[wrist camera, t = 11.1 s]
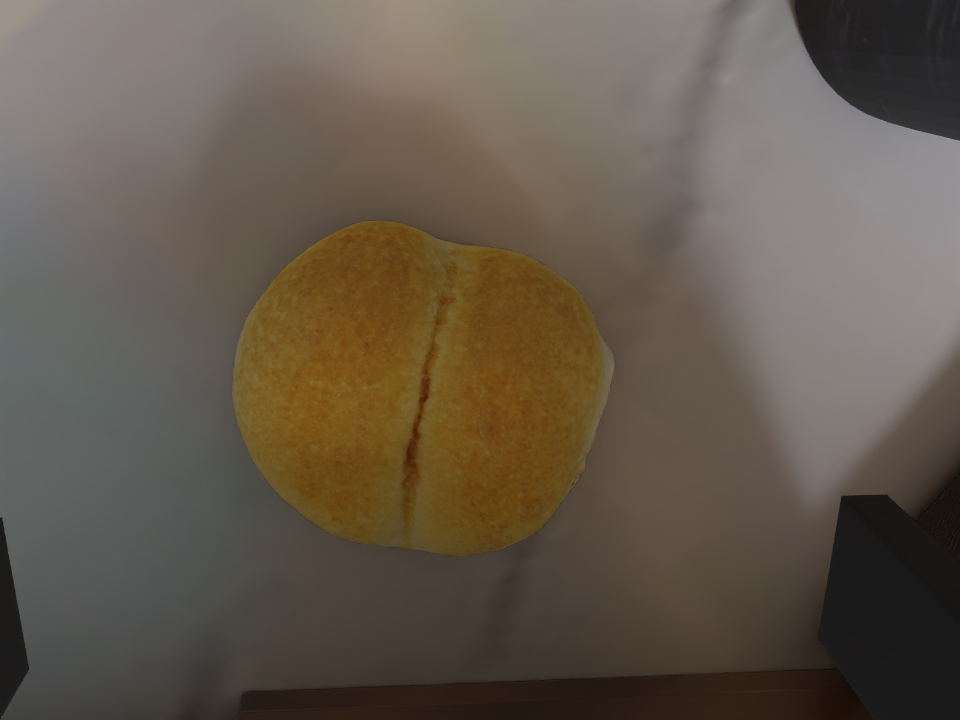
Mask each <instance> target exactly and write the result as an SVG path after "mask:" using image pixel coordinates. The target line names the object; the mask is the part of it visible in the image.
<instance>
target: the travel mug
mask: <svg viewBox="0 0 960 720" xmlns="http://www.w3.org/2000/svg"><path fill="white" fill-rule="evenodd" d="M795 3H796V12H797V17H798V23H799V28H800V31H801V34H802V37H803V40H804V44H805V47H806V49H807V51H808V53H809V55H810V57H811V59H812V61H813V63H814V65H815V66H816V68H817V69H818V71H819V72H820V74H821V75H822V77H823V78H824V79H825V81H826V82H827V83H828V84H829V85H830V86H831V87H832V88H833V89H834V90H835V92H836V93H837V94H838V95H840V96H841V97H842V98H843V99H845V100H846V101H847V102H848V103H850V104H851V105H852V106H854V107H856V108H857V109H859V110H861V111H863V112H864V113H866V114H868V115H871V116H873V117H876V118H879V119H881V120H884V121H886V122H889V123H892V124H896V125H900V126H903V127H907V128H911V129H914V130H918V131H923V132H927V133H931V134H935V135H939V136H943V137H947V138H951V139H955V140H960V0H795Z"/></svg>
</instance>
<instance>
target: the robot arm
mask: <svg viewBox="0 0 960 720" xmlns="http://www.w3.org/2000/svg"><path fill="white" fill-rule="evenodd" d="M818 639H819V641H820V642H821V644H822V645H823V647H824V648H825V649H826V651H827V652H828V654H829V655H830V657H831V658H832V660H833V661H834V662H835V664H836V665H837V667H838V668H839V670H840V671H841V673H842V674H843V676H844V677H845V678H846V680H847V681H848V683H849V684H850V686H851V687H852V689H853V690H854V692H855V693H856V694H857V696H858V697H859V699H860V700H861V702H862V703H863V705H864V706H865V707H866V709H867V710H868V712H869V713H870V715H871V716H872V718H873V719H874V720H960V564H959V563H958V562H957V561H956V560H955V559H954V558H953V557H952V556H951V555H950V554H949V553H948V552H947V551H945V550H944V549H943V548H942V547H941V546H940V545H939V544H938V543H937V542H936V541H935V540H934V539H933V538H932V537H931V536H930V535H929V534H928V533H927V532H925V531H924V530H923V529H922V528H921V527H920V526H919V525H918V524H917V523H916V522H915V521H914V520H913V519H912V518H911V517H910V516H909V515H908V514H907V513H906V512H904V511H903V510H902V509H901V508H900V507H899V506H898V505H897V504H896V503H895V502H894V501H893V500H892V499H891V498H890V497H889V496H888V495H855V496H841V502H840V508H839V514H838V520H837V526H836V532H835V538H834V545H833V551H832V557H831V563H830V569H829V575H828V581H827V587H826V593H825V599H824V605H823V611H822V617H821V623H820V629H819V635H818ZM28 670H29V666H28V660H27V654H26V649H25V643H24V638H23V632H22V627H21V621H20V615H19V610H18V604H17V599H16V593H15V588H14V582H13V576H12V571H11V565H10V560H9V554H8V548H7V543H6V537H5V532H4V526H3V521H2V517H1V518H0V718H1V717H2V715H3V713H4V712H5V710H6V708H7V706H8V705H9V703H10V701H11V700H12V698H13V696H14V694H15V693H16V691H17V689H18V687H19V686H20V684H21V682H22V681H23V679H24V677H25V675H26V674H27V672H28Z"/></svg>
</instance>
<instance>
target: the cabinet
mask: <svg viewBox="0 0 960 720" xmlns="http://www.w3.org/2000/svg"><path fill="white" fill-rule="evenodd" d="M236 720H874V719H873V718H872V716H871V715H870V713H869V712H868V710H867V709H866V707H865V706H864V705H863V703H862V702H861V700H860V699H859V697H858V696H857V694H856V693H855V692H854V690H853V689H852V687H851V686H850V684H849V683H848V681H847V680H846V678H845V677H844V676H843V674H842V673H841V671H840V670H839V669H834V670H808V671H783V672H757V673H731V674H706V675H680V676H654V677H629V678H603V679H578V680H552V681H526V682H501V683H475V684H450V685H424V686H398V687H373V688H347V689H321V690H296V691H270V692H245V693H243V695H242V698H241V702H240V706H239V710H238V714H237V717H236Z"/></svg>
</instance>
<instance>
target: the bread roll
mask: <svg viewBox="0 0 960 720" xmlns="http://www.w3.org/2000/svg"><path fill="white" fill-rule="evenodd" d="M614 368H615V360H614V357H613V353H612V351H611V350H610V348H609V347H608V346H607V344H606V343H605V341H604V340H603V338H602V337H601V334H600V331H599V328H598V325H597V323H596V320H595V318H594V316H593V314H592V312H591V310H590V308H589V306H588V304H587V302H586V301H585V299H584V298H583V296H582V295H581V294H580V292H579V291H578V290H577V289H576V288H575V287H574V286H573V285H572V284H570V283H569V282H568V281H567V280H565V279H564V278H563V277H561V276H560V275H558V274H557V273H555V272H554V271H552V270H551V269H549V268H548V267H546V266H544V265H543V264H541V263H539V262H538V261H536V260H534V259H532V258H530V257H528V256H526V255H523V254H520V253H517V252H514V251H511V250H506V249H499V248H492V247H483V246H465V245H460V244H456V243H452V242H448V241H443V240H439V239H437V238H435V237H433V236H431V235H429V234H428V233H426V232H424V231H422V230H419V229H416V228H414V227H411V226H408V225H405V224H402V223H399V222H390V221H364V222H360V223H355V224H352V225H349V226H347V227H345V228H343V229H340V230H339V231H337V232H335V233H333V234H331V235H329V236H327V237H325V238H323V239H321V240H320V241H318V242H317V243H315V244H314V245H312V246H311V247H309V248H308V249H307V250H305V251H304V252H303V253H302V254H300V255H299V256H298V257H297V258H295V259H294V260H293V261H292V262H291V263H290V264H288V265H287V266H286V267H285V268H284V269H283V270H282V271H281V272H280V274H279V275H278V276H277V277H276V278H275V279H274V280H273V281H272V283H271V284H270V285H269V287H268V288H267V289H266V291H265V292H264V293H263V295H262V296H261V297H260V299H259V300H258V301H257V303H256V304H255V306H254V307H253V309H252V310H251V312H250V313H249V315H248V316H247V319H246V321H245V324H244V326H243V329H242V332H241V335H240V338H239V342H238V345H237V349H236V354H235V364H234V374H233V385H232V400H233V405H234V411H235V415H236V419H237V423H238V426H239V429H240V432H241V434H242V437H243V439H244V441H245V444H246V447H247V449H248V451H249V453H250V455H251V457H252V459H253V461H254V463H255V464H256V466H257V467H258V469H259V470H260V472H261V473H262V475H263V476H264V477H265V479H266V480H267V482H268V483H269V484H270V485H271V486H272V487H273V489H274V490H275V491H276V492H277V493H278V495H279V496H280V497H281V498H283V499H284V500H285V501H287V502H288V503H289V504H290V505H291V506H292V507H293V508H294V509H295V510H297V511H298V512H299V513H300V514H302V515H303V516H304V517H306V518H307V519H308V520H310V521H311V522H313V523H314V524H315V525H317V526H318V527H320V528H322V529H323V530H325V531H326V532H328V533H329V534H332V535H335V536H338V537H341V538H344V539H346V540H351V541H354V542H357V543H360V544H369V545H378V546H387V547H399V548H408V549H414V550H420V551H426V552H431V553H436V554H442V555H453V556H468V555H473V554H479V553H485V552H491V551H497V550H502V549H504V548H506V547H508V546H511V545H513V544H515V543H518V542H520V541H522V540H524V539H525V538H527V537H529V536H531V535H533V534H535V533H537V532H538V531H539V530H540V529H541V528H542V527H543V526H544V525H545V523H546V522H547V520H548V519H549V518H550V517H551V516H552V515H553V514H554V513H555V511H556V510H557V508H558V507H559V505H560V504H561V502H562V501H563V500H564V498H565V497H566V495H567V494H568V493H569V492H570V490H571V489H572V488H573V487H574V486H575V484H576V481H577V480H578V479H579V476H580V475H581V474H582V473H583V472H584V471H585V464H586V458H587V454H588V452H589V451H590V450H591V447H592V444H593V441H594V438H595V435H596V432H597V429H598V425H599V421H600V419H601V417H602V414H603V412H604V409H605V406H606V403H607V400H608V397H609V392H610V387H611V381H612V377H613V375H614Z"/></svg>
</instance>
